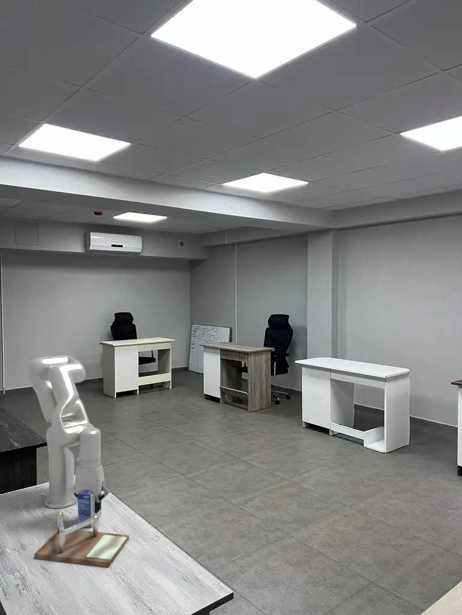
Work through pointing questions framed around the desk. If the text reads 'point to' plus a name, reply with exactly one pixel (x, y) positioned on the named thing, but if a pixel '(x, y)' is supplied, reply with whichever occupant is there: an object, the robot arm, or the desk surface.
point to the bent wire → (64, 532)
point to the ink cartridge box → (86, 507)
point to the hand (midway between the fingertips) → (89, 510)
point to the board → (84, 548)
